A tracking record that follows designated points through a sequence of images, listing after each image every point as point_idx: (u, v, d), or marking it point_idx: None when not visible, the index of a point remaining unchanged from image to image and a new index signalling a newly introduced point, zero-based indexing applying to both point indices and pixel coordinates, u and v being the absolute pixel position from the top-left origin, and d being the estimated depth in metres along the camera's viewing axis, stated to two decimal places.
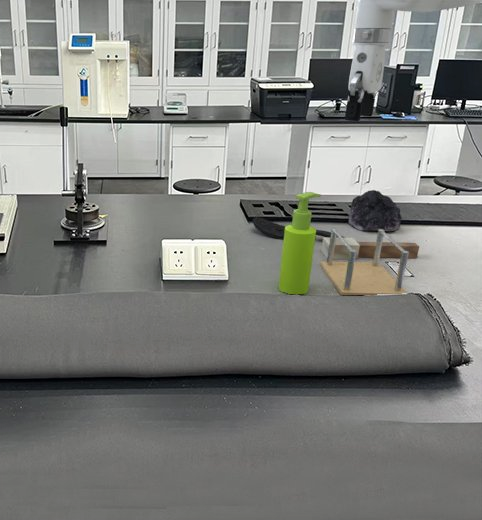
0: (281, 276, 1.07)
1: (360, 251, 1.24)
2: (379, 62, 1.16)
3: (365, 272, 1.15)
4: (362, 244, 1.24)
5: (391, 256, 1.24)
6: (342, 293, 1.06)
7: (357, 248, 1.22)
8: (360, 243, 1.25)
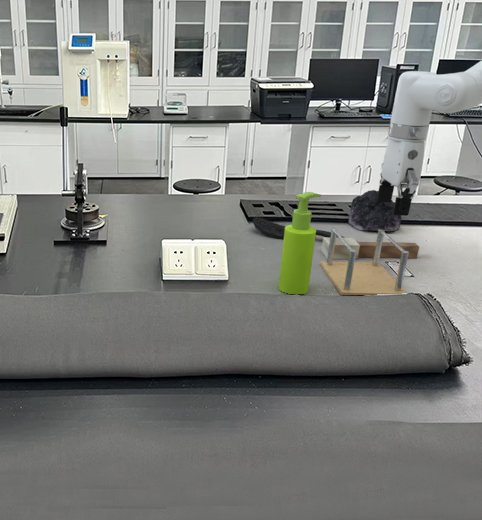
0: (281, 276, 1.07)
1: (360, 251, 1.24)
2: None
3: (365, 272, 1.15)
4: (362, 244, 1.24)
5: (391, 256, 1.24)
6: (342, 293, 1.06)
7: (357, 248, 1.22)
8: (360, 243, 1.25)
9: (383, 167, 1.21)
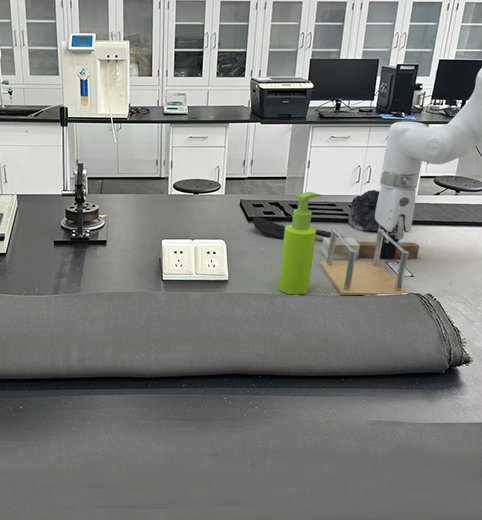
0: (281, 276, 1.07)
1: (360, 251, 1.24)
2: None
3: (365, 272, 1.15)
4: (362, 244, 1.24)
5: None
6: (342, 293, 1.06)
7: (357, 248, 1.22)
8: (360, 243, 1.25)
9: (376, 211, 1.25)
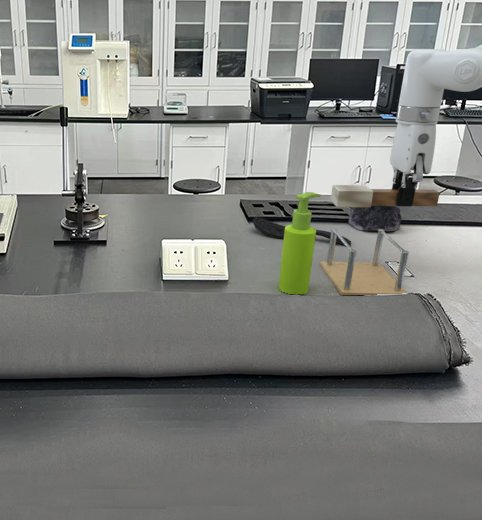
0: (281, 276, 1.07)
1: (374, 199, 1.12)
2: None
3: (365, 272, 1.15)
4: (376, 190, 1.12)
5: None
6: (342, 293, 1.06)
7: (370, 194, 1.11)
8: (374, 190, 1.13)
9: (392, 154, 1.13)
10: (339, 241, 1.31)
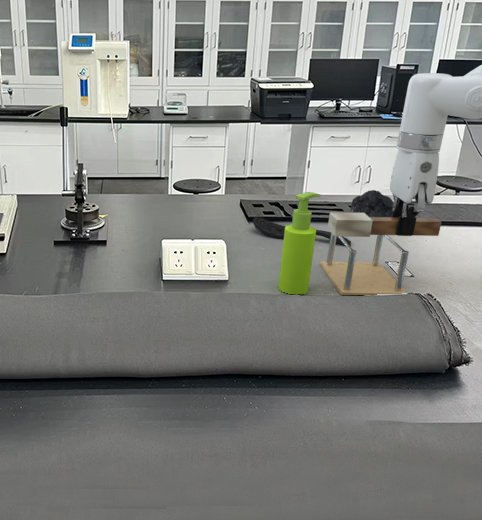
0: (281, 276, 1.07)
1: (373, 228, 1.07)
2: None
3: (365, 272, 1.15)
4: (375, 219, 1.07)
5: None
6: (342, 293, 1.06)
7: (369, 224, 1.05)
8: (373, 218, 1.08)
9: (392, 181, 1.08)
10: (339, 241, 1.31)
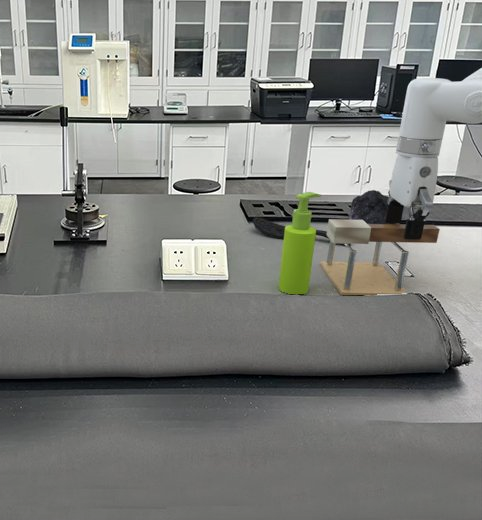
0: (281, 276, 1.07)
1: (371, 235, 1.08)
2: None
3: (365, 272, 1.15)
4: (374, 226, 1.08)
5: (407, 240, 1.08)
6: (342, 293, 1.06)
7: (368, 231, 1.06)
8: (371, 225, 1.08)
9: (391, 185, 1.08)
10: None
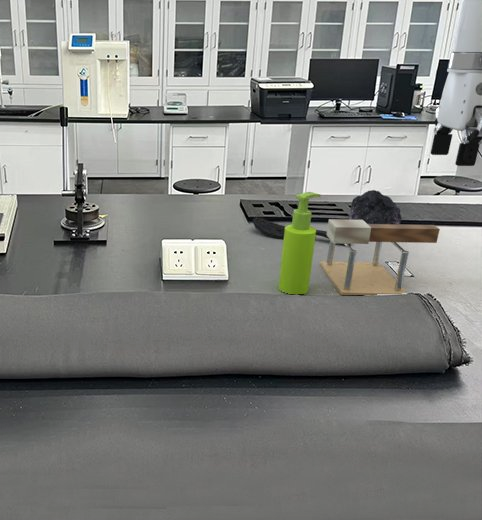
0: (281, 276, 1.07)
1: (371, 235, 1.08)
2: None
3: (365, 272, 1.15)
4: (374, 226, 1.08)
5: (407, 240, 1.08)
6: (342, 293, 1.06)
7: (368, 231, 1.06)
8: (371, 225, 1.08)
9: (440, 111, 1.00)
10: None
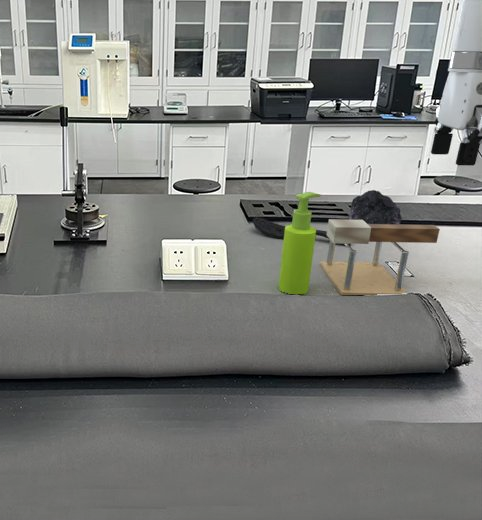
0: (281, 276, 1.07)
1: (371, 235, 1.08)
2: None
3: (365, 272, 1.15)
4: (374, 226, 1.08)
5: (407, 240, 1.08)
6: (342, 293, 1.06)
7: (368, 231, 1.06)
8: (371, 225, 1.08)
9: (440, 110, 1.00)
10: None
